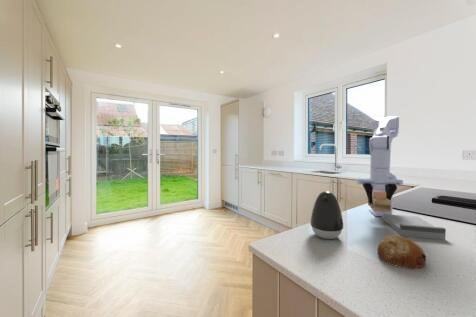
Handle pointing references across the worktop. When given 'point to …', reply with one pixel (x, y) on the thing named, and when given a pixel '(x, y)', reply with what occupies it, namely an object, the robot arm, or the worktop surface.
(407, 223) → the dock
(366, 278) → the worktop surface
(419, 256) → the brown rounded lump
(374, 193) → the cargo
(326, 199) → the dark grey egg shape
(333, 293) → the worktop surface
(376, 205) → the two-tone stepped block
